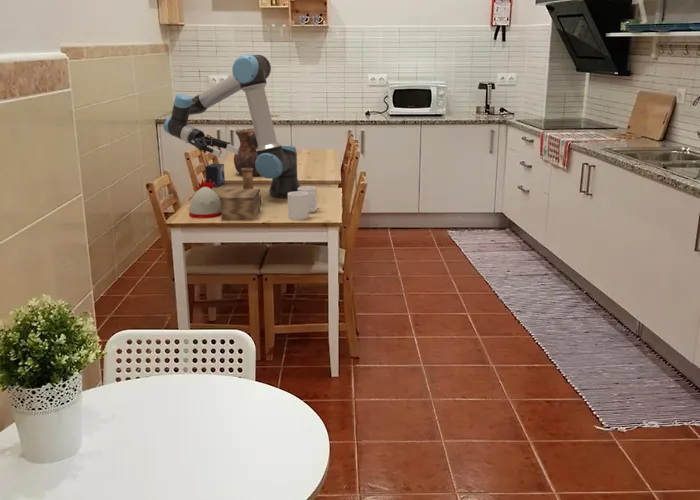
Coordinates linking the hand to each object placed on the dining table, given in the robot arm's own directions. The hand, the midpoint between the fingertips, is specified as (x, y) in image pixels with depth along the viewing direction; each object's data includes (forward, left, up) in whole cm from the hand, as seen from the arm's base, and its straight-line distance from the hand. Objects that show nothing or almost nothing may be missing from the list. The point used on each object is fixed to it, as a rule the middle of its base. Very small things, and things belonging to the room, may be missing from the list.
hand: (229, 152), depth 310 cm
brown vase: (0, -69, -22) cm, 73 cm away
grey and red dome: (+6, +27, -22) cm, 36 cm away
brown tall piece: (-9, +9, -22) cm, 25 cm away
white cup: (-36, +23, -22) cm, 48 cm away
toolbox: (-9, +21, -22) cm, 32 cm away
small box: (+15, -38, -22) cm, 47 cm away
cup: (-35, +34, -22) cm, 53 cm away
